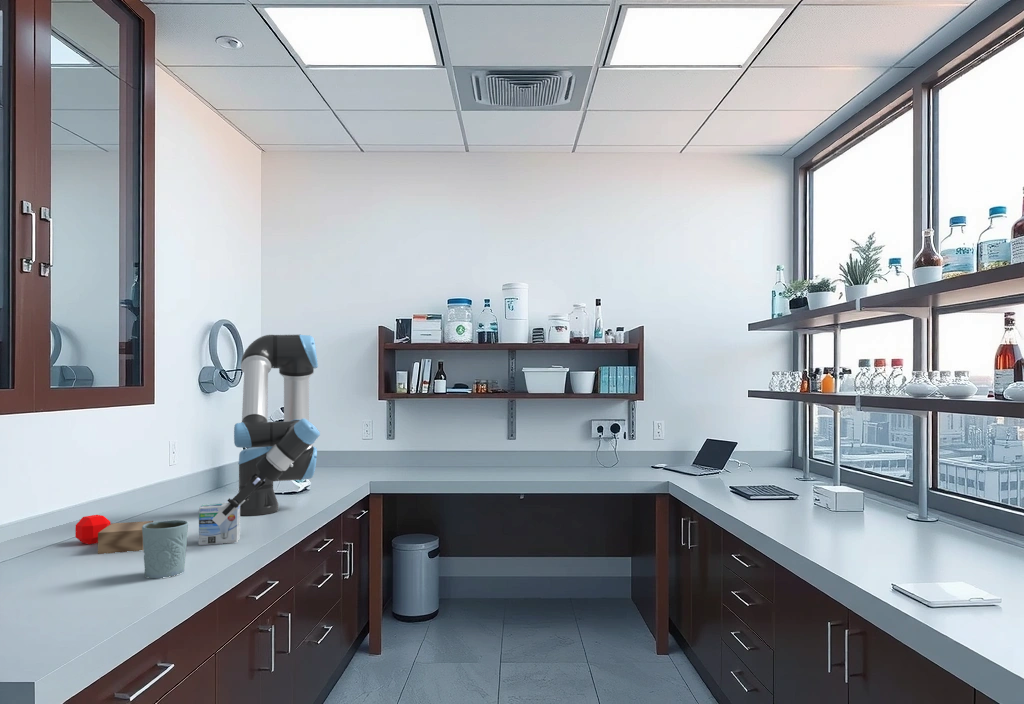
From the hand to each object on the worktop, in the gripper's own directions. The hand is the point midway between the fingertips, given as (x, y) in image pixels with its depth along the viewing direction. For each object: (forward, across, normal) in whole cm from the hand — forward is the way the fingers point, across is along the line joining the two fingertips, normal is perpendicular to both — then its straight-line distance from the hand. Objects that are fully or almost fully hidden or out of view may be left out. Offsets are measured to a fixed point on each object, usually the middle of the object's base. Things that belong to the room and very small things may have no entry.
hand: (220, 518), depth 207 cm
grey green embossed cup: (+9, -34, -1) cm, 35 cm away
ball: (+31, +10, +22) cm, 39 cm away
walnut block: (+23, +1, +13) cm, 26 cm away
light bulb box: (+5, +1, -5) cm, 7 cm away
